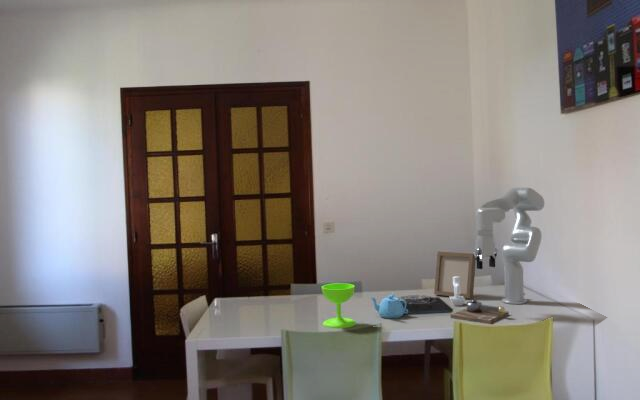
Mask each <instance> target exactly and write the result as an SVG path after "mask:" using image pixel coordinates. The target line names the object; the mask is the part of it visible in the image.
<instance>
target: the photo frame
mask: <svg viewBox="0 0 640 400" xmlns="http://www.w3.org/2000/svg"><path fill="white" fill-rule="evenodd" d="M436 256H437V257H436V265H435V266H436V267H435V268H436V269H435V277H434V278H435V279H434V281H435V282H434V291H433V292H434V293H433V295H435V296H436V295H438V296H446V297H453V296H454V286H453V277H454V276H455V277H458V276H459V280H460V282H459V283H460V284H459V285H460V287H461V294H460V296H463V297H464V298H465V299H471V300H474V287H475V276H476V264H477V261H476V259H475V257H474V254H473V253H468V252H467V253H466V252H465V253H464V252H450V251H449V252H448V251H437V255H436Z"/></svg>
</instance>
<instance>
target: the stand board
mask: <svg viewBox="0 0 640 400" xmlns="http://www.w3.org/2000/svg"><path fill="white" fill-rule="evenodd" d="M509 315H510V314H509V311H507V310H505V312H504V313H499V312H494V311H487V310H482V311H481V312H468V311H467V307H466V308H464V309H462V310H458V311H457V312H454V313H451V314H450V318H451V319H455V320H462V321H467V322H468V321H469V322H476V323H483V324H489V325H490V324H492V323H494V322H496V321H499V320H501V319H503V318H504V317H507V316H509Z"/></svg>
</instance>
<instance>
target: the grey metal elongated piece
mask: <svg viewBox="0 0 640 400" xmlns="http://www.w3.org/2000/svg"><path fill="white" fill-rule="evenodd" d="M466 308H467V311H468V312H481V311H482V310H487V311H494V312H499V313H504V312H505V311H506V309H505V307H504V306H494V305H486V304H483V303H482V302H481V301H477V299H471V300H470V301H467V302H466Z"/></svg>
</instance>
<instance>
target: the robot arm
mask: <svg viewBox="0 0 640 400" xmlns="http://www.w3.org/2000/svg"><path fill="white" fill-rule="evenodd" d="M544 207H545V199H544V197H543V195H541V194H540V193H539V192H537V191H536V190H535V189H534V188H531V187H512V188H510V189H508V190H507V191H506V192H505V193H504V194H503V195H501V196H500V197H497V198H495V199H492V200H489V201H486V202H484V203H483V204H482V205H481V206H479V207H478V208H477V210H476V211H475V213H476V214H475V218H476V220H477V236H476V238H475V239H476V240H475V249H474V251H473V253H472V254H474V257H475V259H476V269H478V270H483V268H484V266H483V258H485V257H486V258H487V257H489V259H488V266H489V268H495V267H496V259H497V256H498V249H497V248H496V244H495V237H494V223H495V224H496V223H497V224H498V223H502V222H503V221H504V220H505V218H506V213H508V212H511V211H512V210H513V213H514V219H515V220H514V223H513V225H512V229H511V230H510V231H511V232H510V234H509V240H510V241H511V242H507V243H505V244H504V245H503V246H502V248H501V254H502V255H501V256H502V259H503V267H504V298H502V299H501V300H502V303H504V304H510V305H523V304H524V305H525V304H526V303H528V300H527V299H526V298H525V296H526V293H525V291H524V289H525V288H524V268H523V266H522V264H521V262H524V263H531V262H534V261H535V260H536V257H537V255H538V253H539V252H538V251H539V248H540V245H541V241H542V231H541V230H540V228H539V227H537V226H531V224H532V218H531V216H530V215H529V214H528V213H527V211H531V212H533V211H534V212H538V211H541V210H543V208H544Z"/></svg>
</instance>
